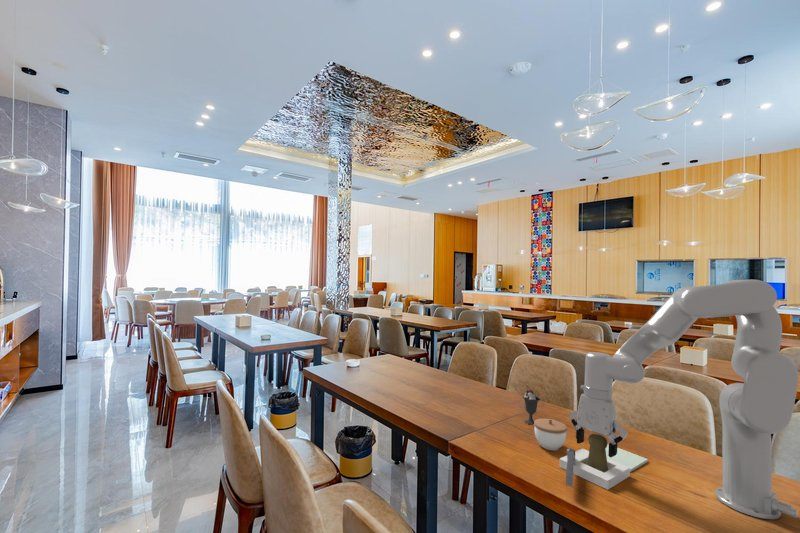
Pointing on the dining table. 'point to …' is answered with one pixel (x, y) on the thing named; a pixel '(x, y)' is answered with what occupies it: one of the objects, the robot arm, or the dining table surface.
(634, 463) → the sage mat
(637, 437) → the dining table surface
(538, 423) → the lidded jar
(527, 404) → the sundae
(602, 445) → the olive tapered cylinder
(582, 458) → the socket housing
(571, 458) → the retention bar
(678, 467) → the dining table surface
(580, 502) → the dining table surface
